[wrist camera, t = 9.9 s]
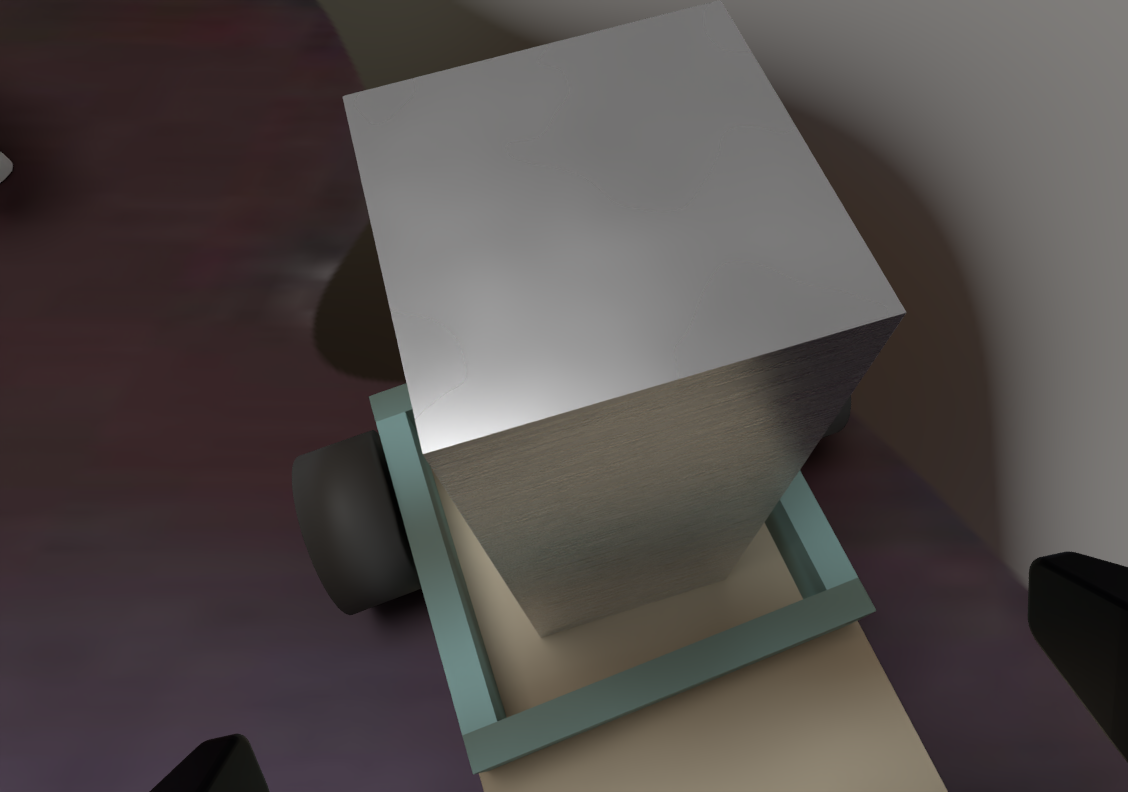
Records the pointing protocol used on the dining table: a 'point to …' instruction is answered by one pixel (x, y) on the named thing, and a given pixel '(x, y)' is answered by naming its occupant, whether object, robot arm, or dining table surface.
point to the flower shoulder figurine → (5, 167)
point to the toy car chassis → (623, 645)
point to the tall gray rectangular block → (615, 302)
